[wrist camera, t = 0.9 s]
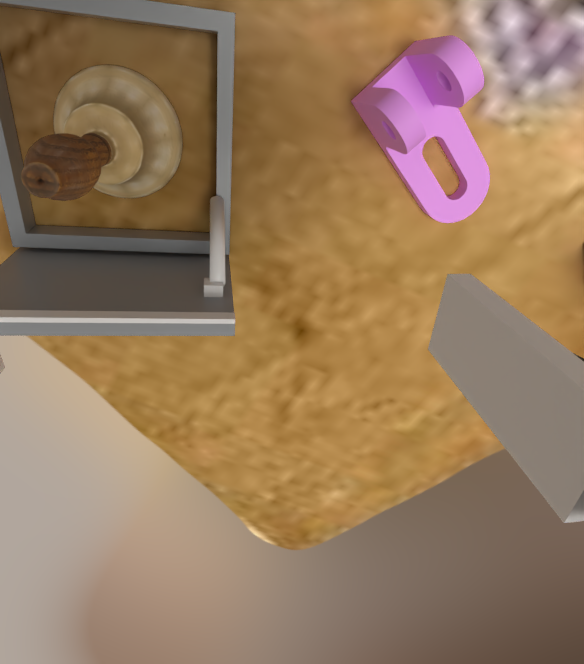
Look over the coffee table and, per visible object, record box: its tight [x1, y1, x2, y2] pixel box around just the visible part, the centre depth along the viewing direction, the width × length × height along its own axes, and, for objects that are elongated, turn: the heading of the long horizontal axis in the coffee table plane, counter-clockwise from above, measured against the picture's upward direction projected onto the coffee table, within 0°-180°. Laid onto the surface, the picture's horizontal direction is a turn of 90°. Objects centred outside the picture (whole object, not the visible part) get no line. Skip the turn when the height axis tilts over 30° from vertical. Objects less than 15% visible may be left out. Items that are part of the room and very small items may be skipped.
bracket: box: [351, 35, 490, 223], centre depth 30 cm, size 13×6×7 cm, turn 40°
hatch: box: [0, 0, 235, 336], centre depth 24 cm, size 16×15×12 cm
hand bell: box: [21, 65, 183, 201], centre depth 23 cm, size 8×8×16 cm
